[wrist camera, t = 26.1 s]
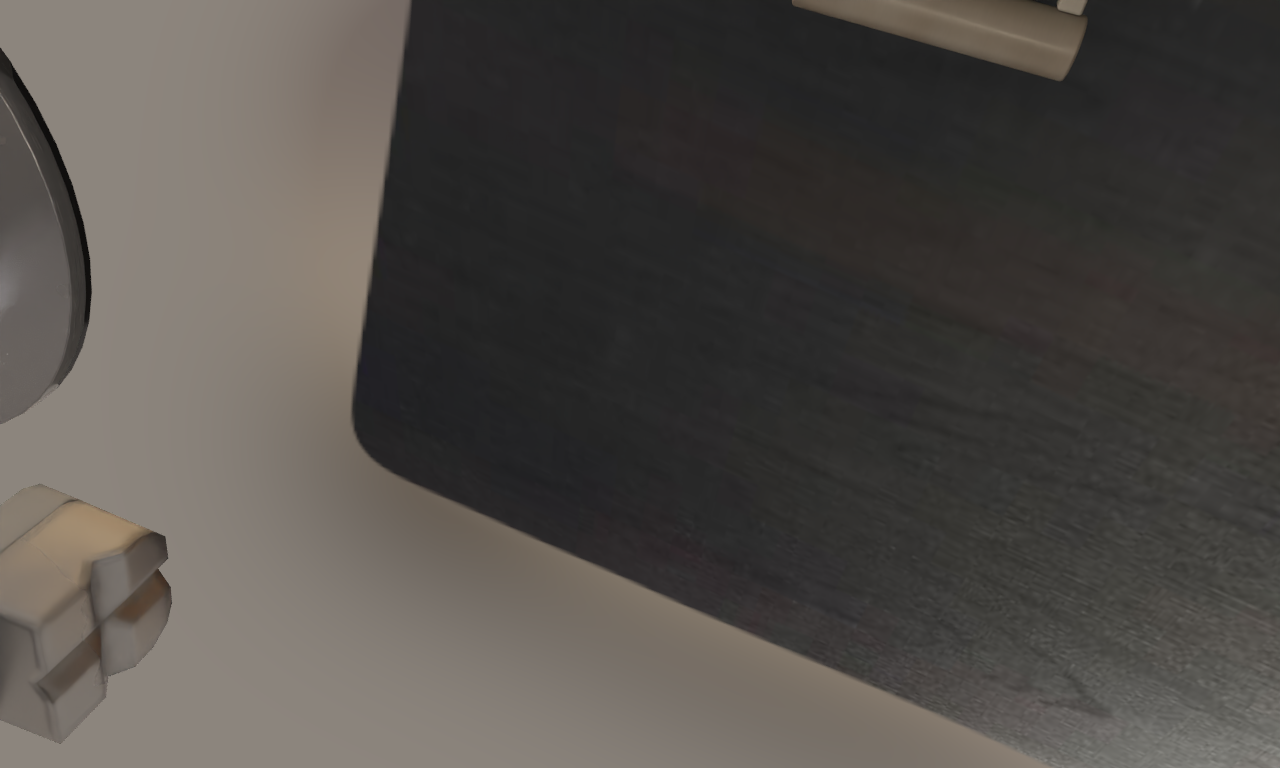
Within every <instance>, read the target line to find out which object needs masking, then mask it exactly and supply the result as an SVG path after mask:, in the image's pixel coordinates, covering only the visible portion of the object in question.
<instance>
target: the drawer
mask: <svg viewBox="0 0 1280 768" xmlns="http://www.w3.org/2000/svg"><path fill="white" fill-rule="evenodd" d="M1087 1H1088V0H1058V1H1057V7H1054V6H1050V5H1046V4H1043V3H1039V2H1035V1H1032V0H792V4H793V5H794V6H796V7H800V8H803V9H807V10H810V11H814V12H817V13H821V14H824V15H828V16H831V17H835V18H838V19H842V20H845V21H849V22H852V23H856V24H859V25H863V26H866V27H870V28H873V29H877V30H880V31H884V32H887V33H891V34H894V35H898V36H902V37H905V38H909V39H912V40H916V41H919V42H923V43H926V44H930V45H933V46H937V47H940V48H944V49H947V50H951V51H954V52H958V53H961V54H965V55H968V56H972V57H975V58H979V59H982V60H986V61H989V62H993V63H996V64H1000V65H1003V66H1007V67H1010V68H1014V69H1017V70H1021V71H1024V72H1028V73H1031V74H1035V75H1039V76H1042V77H1046V78H1049V79H1053V80H1056V81H1062V80H1063V79H1064V78H1065V77H1066V75H1067V74H1068V72H1069V70H1070V68H1071V66H1072V64H1073V62H1074V60H1075V58H1076V55H1077V53H1078V51H1079V48H1080V45H1081V43H1082V40H1083V37H1084V34H1085V31H1086V27H1087V21H1088V18H1087V16H1086V15H1083V14H1082V13H1083V11H1084V8H1085V6H1086V4H1087Z"/></svg>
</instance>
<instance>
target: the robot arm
mask: <svg viewBox="0 0 1280 768" xmlns="http://www.w3.org/2000/svg"><path fill="white" fill-rule="evenodd" d="M167 559H168V553H167V546H166V539H165V536H163V535H160V534H158V533H156V532H153V531H151V530H149V529H147V528H144V527H142V526H140V525H137V524H135V523H133V522H130V521H128V520H125V519H123V518H121V517H118V516H116V515H114V514H111V513H109V512H107V511H104V510H102V509H100V508H97V507H95V506H93V505H90V504H88V503H86V502H83V501H81V500H79V499H76V498H74V497H72V496H69V495H67V494H64V493H62V492H59V491H57V490H54V489H52V488H49V487H47V486H44V485H42V484H38V485H35V486H31V487H28V488H24V489H22V490H21V491H19V492H18V493H16V494H15V495H14V496H12V497H11V498H10V499H8V500H7V501H5V502H4V503H3V504H1V505H0V720H2V721H5V722H7V723H9V724H12V725H14V726H17V727H19V728H22V729H24V730H27V731H29V732H32V733H34V734H37V735H39V736H42V737H44V738H47V739H49V740H52V741H54V742H57V743H59V744H61V743H62V742H63V741H64V740H65V739H66V738H67V737H68V736H69V735H70V734H71V732H73V730H74V729H75V728H76V727H77V726H78V725H79V724H80V723H81V722H82V721H83V720H84V719H85V718H86V717H87V716H88V715H89V714H90V713H91V712H92V711H93V710H94V709H95V708H96V707H97V706H98V705H99V704H100V703H101V702H102V700H104V699H105V697H106V692H107V683H108V676H111V675H114V674H116V673H119V672H122V671H125V670H127V669H130V668H133V667H135V666H136V665H137V664H138V663H139V662H140V661H141V660H142V658H144V657H145V656H146V654H147V653H148V652H149V651H150V650H151V649H152V648H153V647H154V645H155V643H156V642H157V640H158V638H159V636H160V634H161V633H162V631H163V629H164V627H165V626H166V624H167V621H168V617H169V613H170V608H171V604H172V600H171V587H170V586H169V584H168V583H167V581H166V580H165V578H164V577H163V575H162V574H161V572H160V571H159V569H158V568H159V567H160V566H161V565H162V564H163V563H164V562H165V561H166V560H167Z"/></svg>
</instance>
